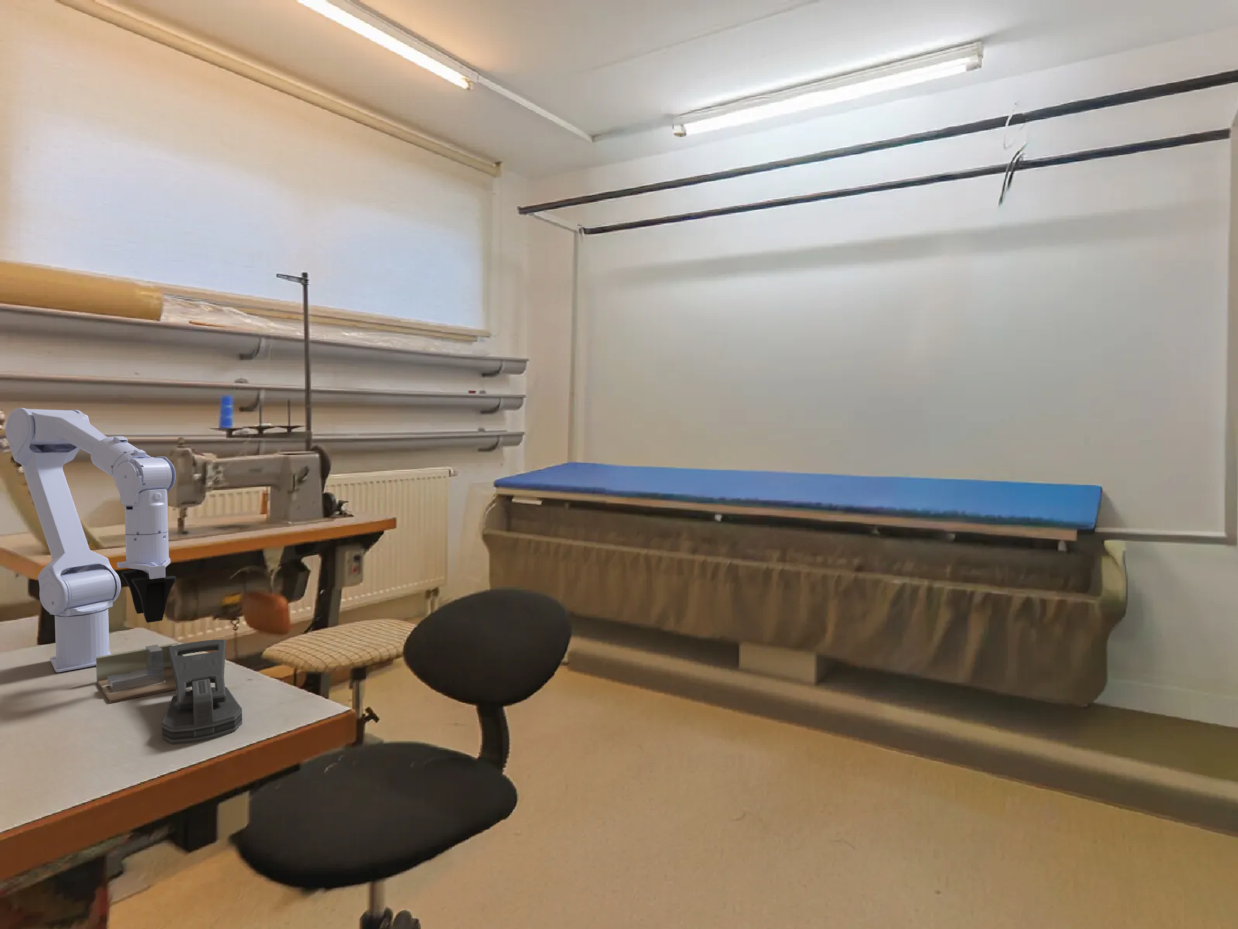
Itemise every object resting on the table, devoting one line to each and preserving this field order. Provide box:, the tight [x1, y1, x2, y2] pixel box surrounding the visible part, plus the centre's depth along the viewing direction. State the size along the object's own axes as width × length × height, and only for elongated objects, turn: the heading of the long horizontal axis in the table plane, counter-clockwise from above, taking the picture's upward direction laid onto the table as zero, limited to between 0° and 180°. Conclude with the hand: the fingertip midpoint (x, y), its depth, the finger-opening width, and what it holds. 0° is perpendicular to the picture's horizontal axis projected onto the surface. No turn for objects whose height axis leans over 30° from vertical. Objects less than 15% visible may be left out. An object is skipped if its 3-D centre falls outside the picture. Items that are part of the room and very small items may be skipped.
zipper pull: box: [161, 639, 243, 745], centre depth 99 cm, size 9×7×25 cm
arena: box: [95, 642, 192, 704], centre depth 109 cm, size 12×11×4 cm
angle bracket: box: [108, 644, 164, 693], centre depth 107 cm, size 6×4×5 cm, turn 134°
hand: (149, 616), depth 113 cm, fingers open, 7 cm apart
